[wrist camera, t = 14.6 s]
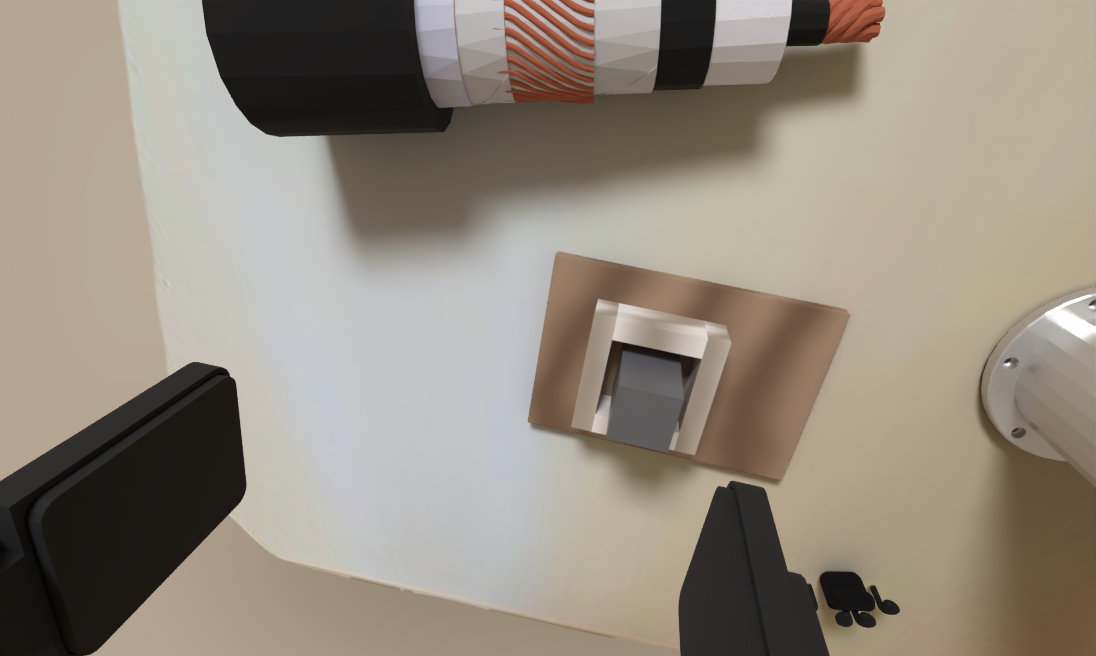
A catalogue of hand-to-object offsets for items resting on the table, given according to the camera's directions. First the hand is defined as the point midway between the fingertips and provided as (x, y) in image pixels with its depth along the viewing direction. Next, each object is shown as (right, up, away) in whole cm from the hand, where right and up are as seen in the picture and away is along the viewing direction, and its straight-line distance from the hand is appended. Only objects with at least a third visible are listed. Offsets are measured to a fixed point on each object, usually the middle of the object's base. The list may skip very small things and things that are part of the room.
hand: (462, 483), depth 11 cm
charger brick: (+9, 0, +31) cm, 32 cm away
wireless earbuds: (+26, -17, +37) cm, 48 cm away
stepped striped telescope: (+3, +21, +24) cm, 32 cm away
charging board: (+11, 0, +32) cm, 33 cm away
